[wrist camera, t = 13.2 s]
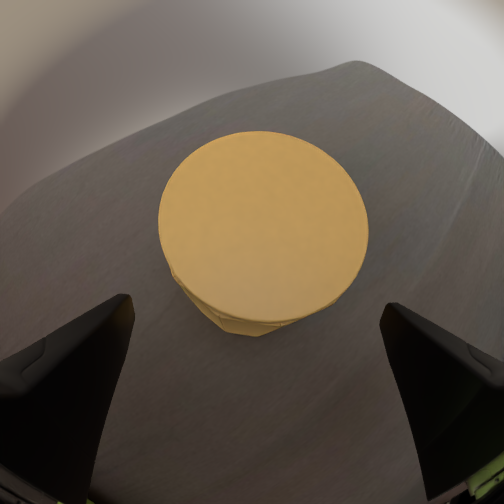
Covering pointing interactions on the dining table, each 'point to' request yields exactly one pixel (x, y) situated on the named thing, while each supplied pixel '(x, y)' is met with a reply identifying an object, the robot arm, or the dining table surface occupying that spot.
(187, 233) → the cup-cap
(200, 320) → the dining table surface
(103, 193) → the dining table surface
